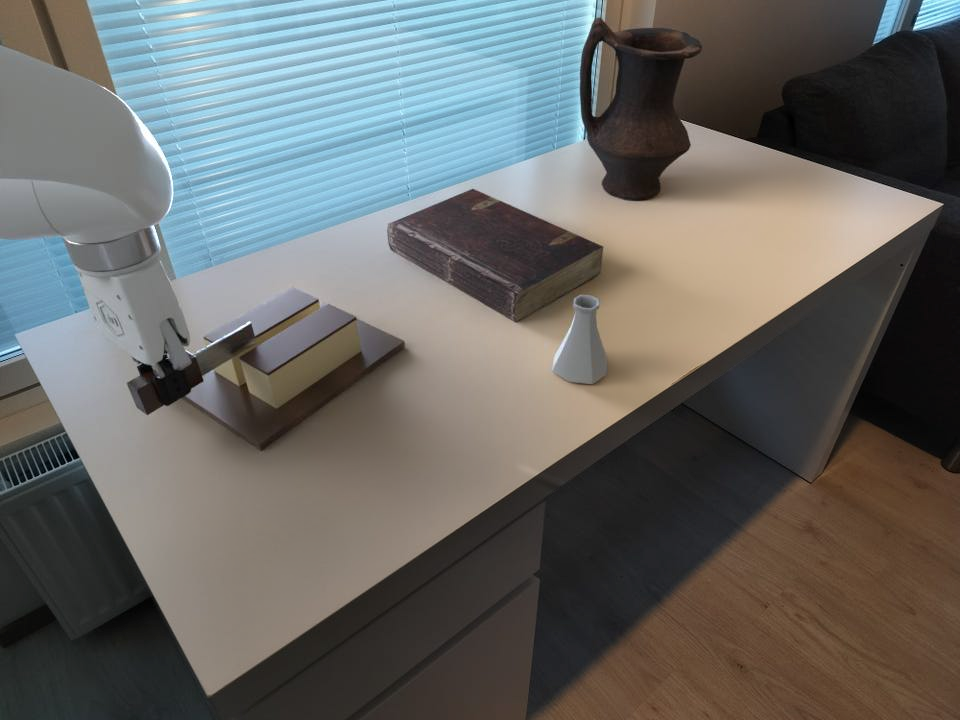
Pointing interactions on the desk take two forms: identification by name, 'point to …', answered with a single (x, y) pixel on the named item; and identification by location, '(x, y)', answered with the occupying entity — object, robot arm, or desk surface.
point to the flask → (582, 346)
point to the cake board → (269, 423)
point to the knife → (193, 367)
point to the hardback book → (496, 252)
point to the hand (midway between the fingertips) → (169, 392)
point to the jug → (637, 107)
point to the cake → (289, 345)
